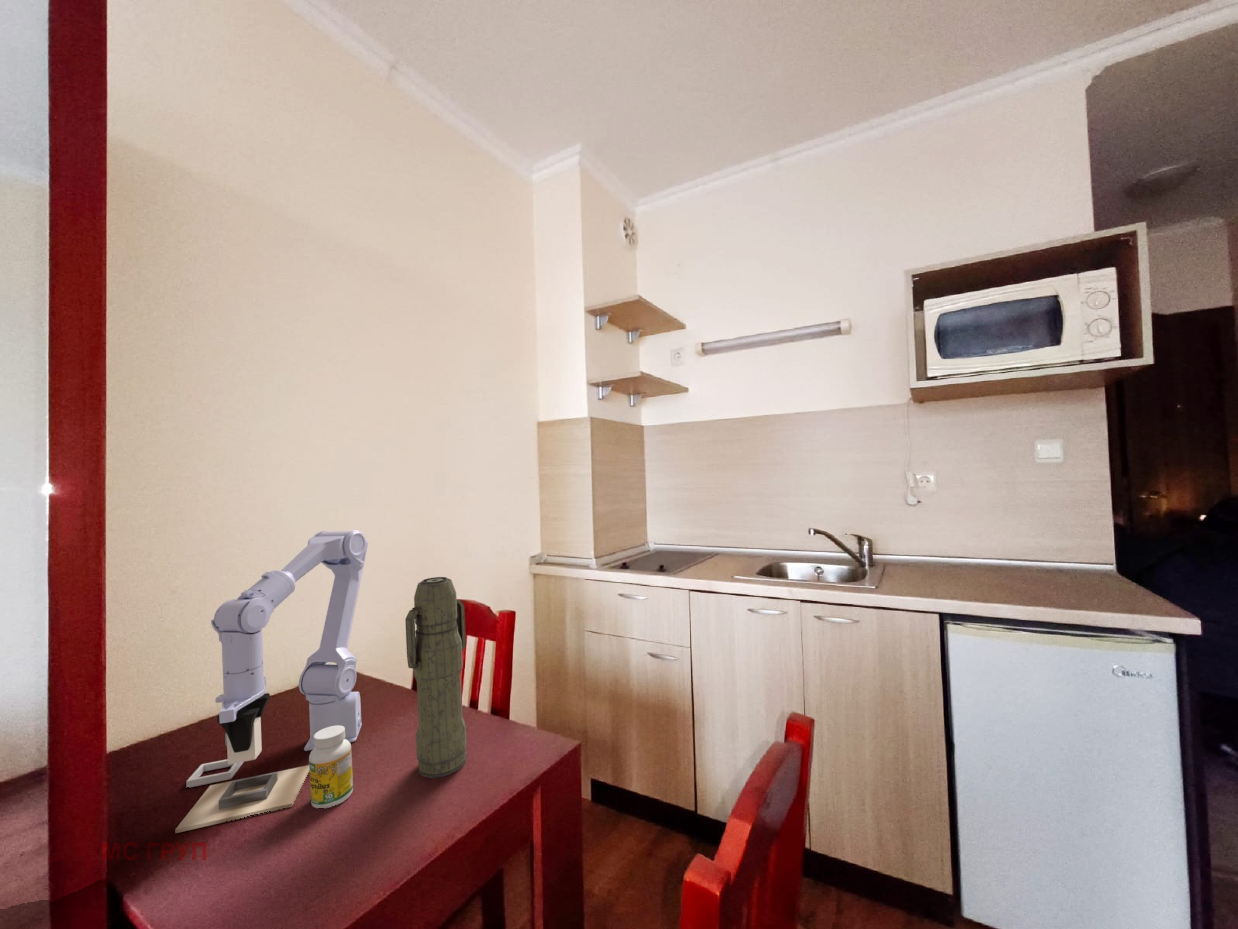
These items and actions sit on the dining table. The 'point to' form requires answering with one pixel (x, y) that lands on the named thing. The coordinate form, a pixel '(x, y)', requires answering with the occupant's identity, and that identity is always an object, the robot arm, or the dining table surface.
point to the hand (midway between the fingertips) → (246, 745)
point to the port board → (245, 798)
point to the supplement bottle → (330, 768)
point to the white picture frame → (197, 780)
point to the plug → (253, 750)
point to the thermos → (438, 675)
